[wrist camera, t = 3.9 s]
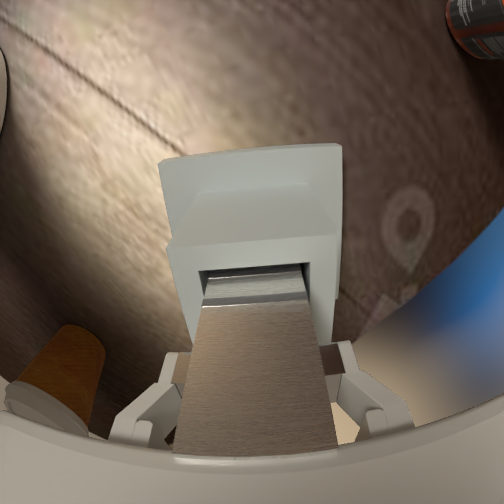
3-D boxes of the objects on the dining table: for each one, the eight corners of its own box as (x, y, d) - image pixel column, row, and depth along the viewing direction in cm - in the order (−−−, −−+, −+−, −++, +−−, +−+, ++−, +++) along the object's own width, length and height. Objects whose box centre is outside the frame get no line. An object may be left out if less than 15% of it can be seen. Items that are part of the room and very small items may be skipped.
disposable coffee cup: (124, 379, 31) (95, 462, 21) (59, 360, 31) (22, 431, 20) (113, 323, 27) (67, 421, 16) (40, 303, 26) (-15, 380, 16)
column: (231, 265, 22) (206, 494, 8) (224, 213, 20) (171, 453, 6) (287, 261, 22) (323, 489, 8) (284, 208, 20) (339, 448, 6)
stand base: (193, 299, 25) (169, 393, 16) (163, 159, 20) (97, 207, 11) (333, 288, 25) (366, 381, 16) (335, 143, 19) (399, 178, 10)
